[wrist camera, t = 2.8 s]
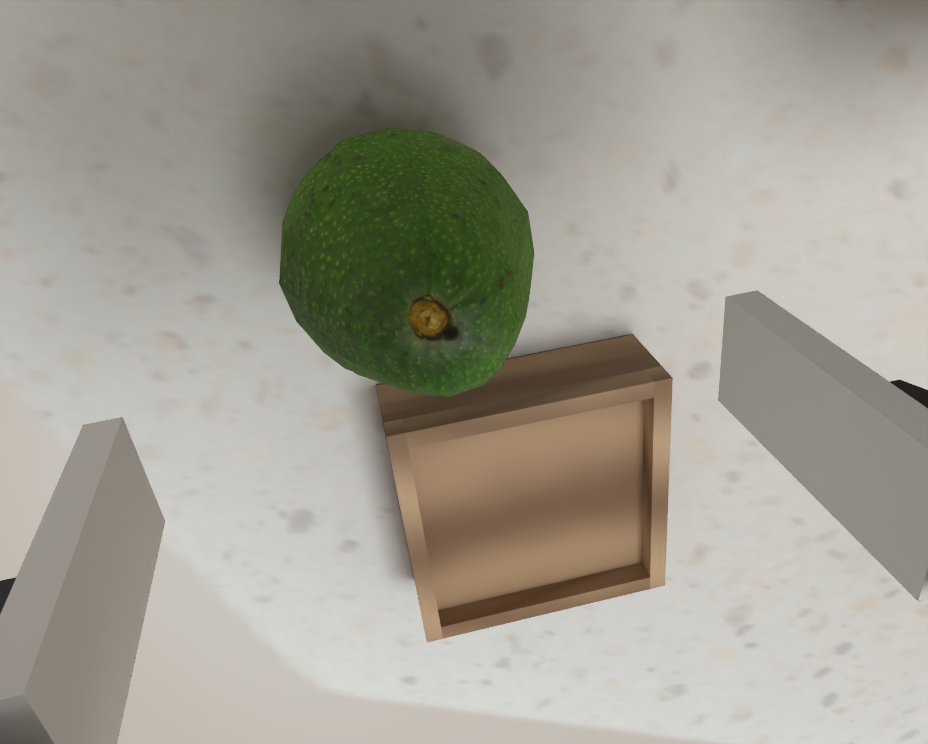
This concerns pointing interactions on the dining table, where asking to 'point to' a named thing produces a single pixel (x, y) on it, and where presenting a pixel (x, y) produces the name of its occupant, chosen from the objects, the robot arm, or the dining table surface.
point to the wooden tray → (534, 485)
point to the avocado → (408, 261)
